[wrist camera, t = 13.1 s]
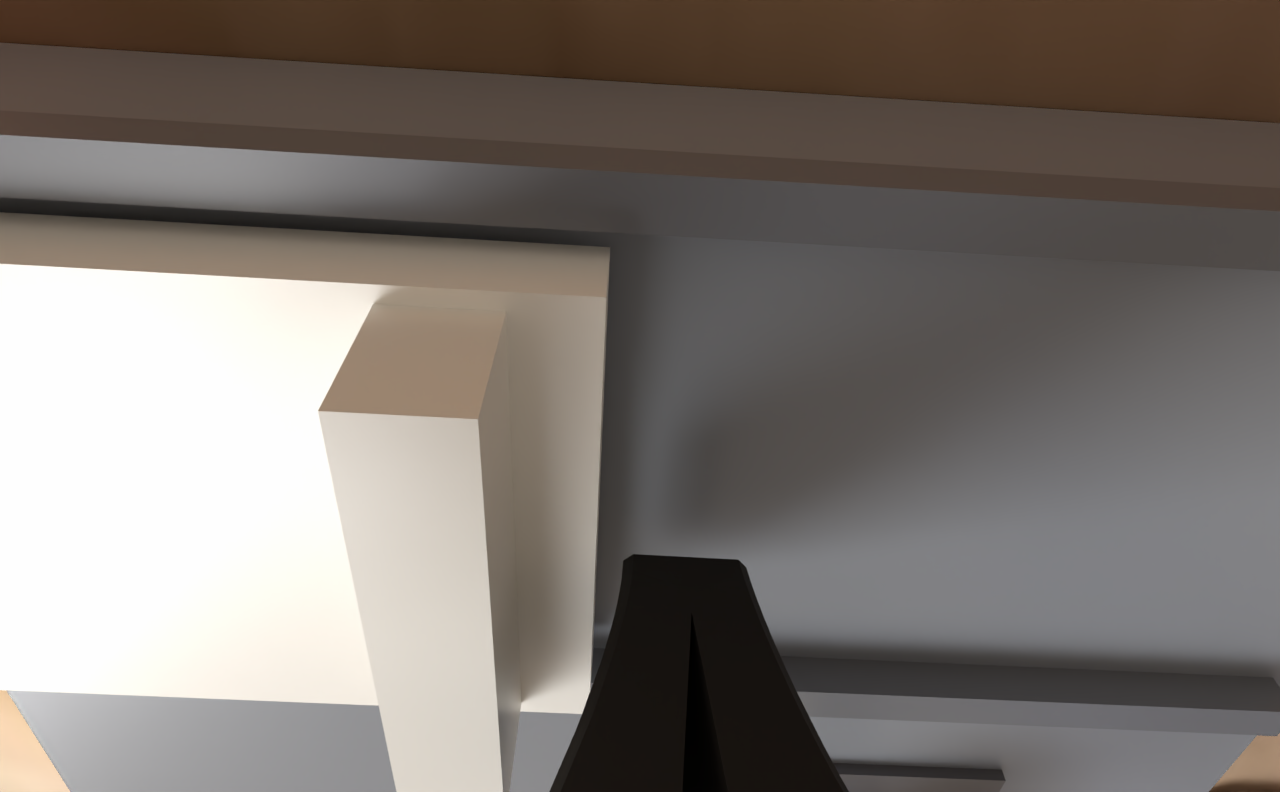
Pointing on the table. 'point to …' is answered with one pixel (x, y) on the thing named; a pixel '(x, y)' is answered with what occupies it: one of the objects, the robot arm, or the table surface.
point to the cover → (304, 474)
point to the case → (793, 392)
